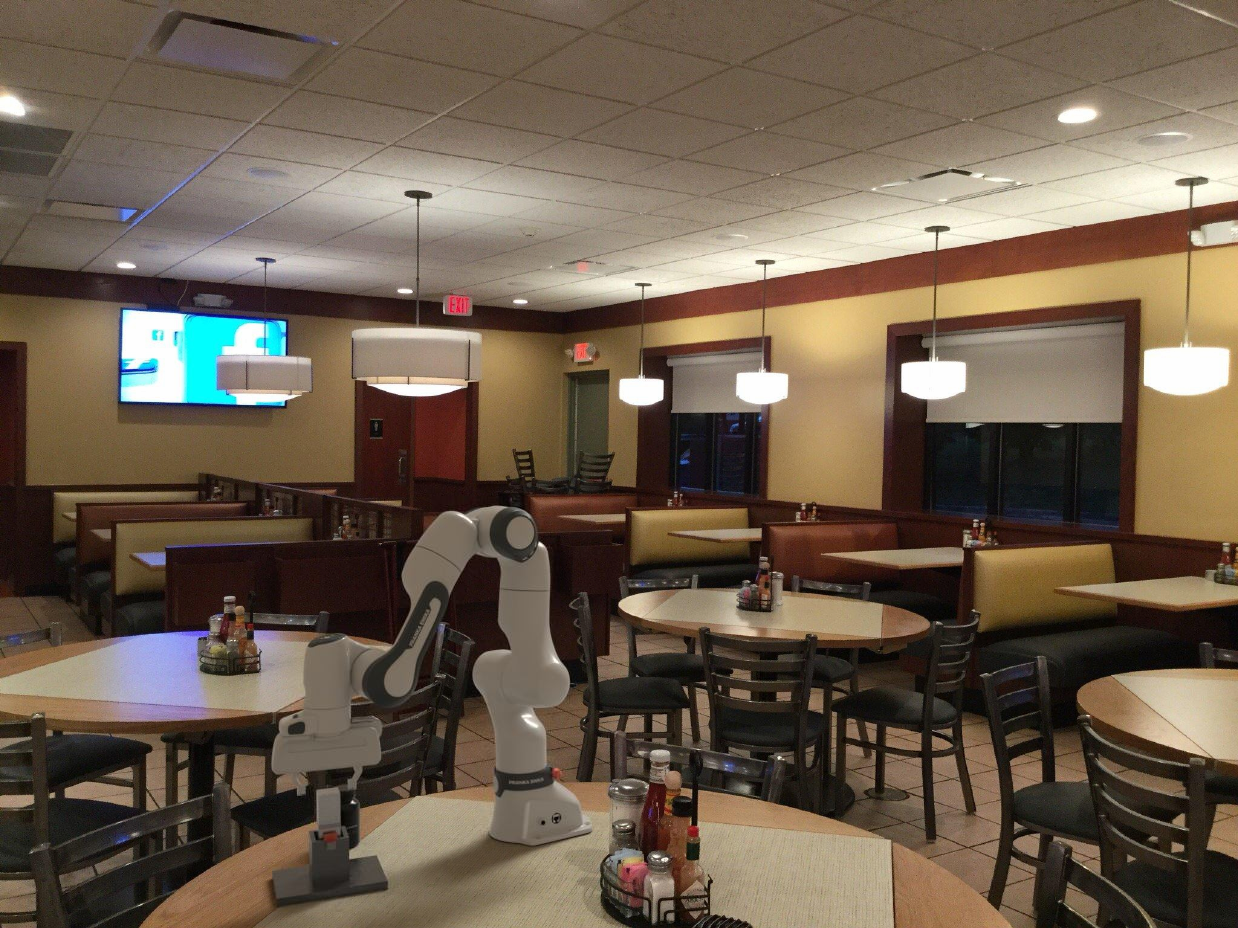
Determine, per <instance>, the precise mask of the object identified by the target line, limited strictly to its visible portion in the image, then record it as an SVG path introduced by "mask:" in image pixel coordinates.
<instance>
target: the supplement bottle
mask: <svg viewBox="0 0 1238 928" xmlns="http://www.w3.org/2000/svg"><path fill="white" fill-rule="evenodd" d="M336 787H338V789H339V792H340V822H341V826H345V828H346V831H347V833H348V836H349V849H352V848H355V847H356V846H358V844H360V838H361V835H360V834H361V828H360V827H361V822H360V821H361V806H360V805H361V803H360V801H359V800H358V799H357V798H356V789H355V790H348V784H342V785H336V786H333V787H332V788H336Z"/></svg>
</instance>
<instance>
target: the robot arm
mask: <svg viewBox="0 0 1238 928" xmlns="http://www.w3.org/2000/svg"><path fill="white" fill-rule="evenodd" d="M538 534H539V533H538V528H537V525H536V522H535V520H534V518H533V517H532V515H531V514H530V513H529V512H527V511H526V510H523V509H521V508H518V507H515V506H514V507H513V506H502V505H492V506H488V507H487V506H485V507H482V506H480V507H475V508H472V509H469V510H467V511H466V512H464V513H462V512H459V511H455V510H449V511H448V510H447V511H443V512H442V513H440V514H439V515H438V516H437V517H436V518H435V520H433V522H432V523H431V524H430V525H429V526H428V527H427V528H426V530H425V531H424V532H423V534H422V535H421V537H420V538H419V539H418V540H417V543H416V544H415V546H414V548H413V549H412V550H411V552H410V553H409V555H408V557H407V559H406V561H405V563H404V565H403V569H402V571H401V580H402V584H403V587H404V589H405V591H406V593H407V594H408V596H409V598H410V603H411V604H410V610H409V612H408V614H407V617H406V619H405V622H404V623H403V626H401V629H400V631H399V633H398V635H397V637H396V639H395V641H394V643H393V645H392V646H391V647H390V648H389V649H388V650H384V649H382V648H378V647H373V646H370V645H366V644H364V643H361V642H359V641H356V640H354V639H352V638H350V637H349V636H348V635H346V633H340V632H338V633H337V632H334V633H327V634H322V635H319V636H317V637H315V638H314V639H312V640H311V641H310V642H308V644H307V645H306V649H305V653H304V661H303V676H302V677H303V679H302V680H303V687H304V691H305V696H304V700H303V705H302V710H300V711H298V712H295V713H293V714H290V715H287V716H284V717H282V718H280V720H279V721H278V731H279V733H278V734H277V735H276V736H275V738H274V742H273V746H272V754H271V770H272V772H273V773H274V774H275V775H277V776H278V775H286V774H288V775H289V774H290V777H291V780H292V781H293V783H294V785H295V786H296V793H297V794H296V795H297V796H306V795H307V794H306V793H307V792H306V790H307V788H306V787H307V786H306V784H305V783H301V782H300V780H299V778H300V773H306V772H315V771H317V772H318V771H326V770H327V771H328V770H335V769H346V768H347V769H348V768H353V770H354V773H353V776H352V777H351V778H347V785H348V790H355V791H356V790H357V784H358V783H357V781H358V779H359V778H361V777H360V776H361V775H362V774H363V766H364V767H365V766H375V765H378V764H379V762H380V761H381V760H382V749H381V742H380V737H381V736H382V733H383V723H382V721H381V720H380V719H379V718H378V717H375V716H374V715H368V716H355V717H351V715H352V713H351V712H352V698H353V697H357V696H361V697H362V698H365V699H367V700H369V701H371V702H372V703H374V704H375V705H377V706H379V707H381V708H385V709H386V708H387V709H390V708H396V707H399V706H401V705H402V704H404V703H405V702H407V701H408V700H409V699H410V698H411V696H412V695H413V694H414V693H415V689H416V687H417V684H418V680H419V677H420V676H419V675H420V669H421V666H422V662H423V660H424V658H425V655H426V653H427V651H428V649H429V647H430V645H431V643H432V640H433V639H434V636H435V634H436V632H437V630H438V628H439V626H440V624H441V622H442V620H443V617H444V615H445V613H446V610H447V607H448V604H449V601H450V596H451V593H452V591H453V589H454V586H455V584H456V583H457V581H458V579H459V577H460V575H461V574H462V572H463V571H464V569H465V567H466V565H467V563H468V562H469V560H470V559H472V557H473V556H482V557H485V558H491V559H492V558H495V559H497V561H498V563H499V566H500V580H499V595H498V597H499V599H498V613H497V614H498V615H497V616H498V617H497V622H498V625H499V628H500V629H501V630H502V632H503V633H504V634H505V636H506V638H507V640H508V643H509V646H510V650H509V649H495V650H490V651H489V650H488V651H485V652H484V653H482V654H481V655H479V656H478V658H477V659H476V660H475V663H474V665H473V669H472V681H473V684H474V686H475V687H476V689H477V690H478V691H479V693H480V694H481V696H482V697H483V700H484V702H485V703H486V706H487V709H488V712H489V715H490V718H491V722H492V726H493V731H494V743H495V766H494V768H493V792H494V806H493V813H492V819H491V824H490V827H489V831H488V834H489V836H490V837H492V838H493V839H495V840H498V841H502V842H508V843H515V844H517V843H518V844H523V845H527V846H537V845H542V844H543V845H544V844H546V843H550V842H551V843H552V842H556V841H559V840H564V839H567V838H572V837H575V836H580V835H584V834H589V833H590V832H592V831H593V822H592V820H591V819H590V817H588V816H587V815H586V814H585V813H583V812H582V806H581V803H580V801H579V799H578V798H577V796H576V795H575V794H574V793H573V792H572V791H570V790H569V789H568V788H566V787H565V786H564V785H562V784H561V783H559V782H557V781H556V780H560V779H562V777H563V772H562V771H561V770H560V769H559V768H557V767H554V766H553V765H551V764H549V763H548V762H547V731H546V728H545V726H544V725H543V723H542V722H541V721H540V720H539V718H538V717H537V715H536V713H535V711H534V708H535V709H537V708H538V709H539V708H540V709H543V708H544V709H546V708H553V707H556V706H559V705H560V704H561V703H563V701H564V700H565V699H566V697H567V695H568V693H569V690H570V684H571V680H570V674H569V671H568V669H567V667H566V666H565V664H564V663H563V662H562V661H561V660H560V658H559V656H558V654H557V652H556V648H555V645H554V642H553V639H552V635H551V627H550V600H551V599H550V597H551V594H550V593H551V572H550V571H551V566H550V559H549V551H548V550H547V549H548V548H547V547H546V546H545V544H543V543H542V542H541V541H540V539H539V535H538Z"/></svg>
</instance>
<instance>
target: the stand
mask: <svg viewBox="0 0 1238 928" xmlns="http://www.w3.org/2000/svg"><path fill="white" fill-rule="evenodd" d="M308 861H309V862H308V865H301V866H296V867H288V868H283V869H282V868H281V869H276V870H272V872H271V874H272V884H273V891H274V898H275V907H277V908H278V907H285V906H291V905H297V904H303V903H311V902H316V901H321V900H322V901H323V900H328V899H334V898H341V897H347V896H352V895H359V894H364V893H370V892H372V893H373V892H377V891H383V890H388V889H389V887H388V886H389V881H388V879H387V876H386V873H385V871H384V869H383V867H382V864H381V863H380V860H379V858H378V855H377V854H375V855H369V856H368V855H367V856H362V857H355V858H350V848H349V836H348V833H347V831H346V828H345V826H341V837H339V838H337V833H330V834H324V840H318V841H317V829H313V830H308Z"/></svg>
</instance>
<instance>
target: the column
mask: <svg viewBox="0 0 1238 928" xmlns="http://www.w3.org/2000/svg"><path fill="white" fill-rule="evenodd" d="M335 787H336V786H335ZM315 793H316V830H317V841H318V840H324V834H330V833H337V838H339V837H341V822H340V792H339V789H338V787H336V788H333V787H330V788H321V789H316V792H315Z"/></svg>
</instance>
